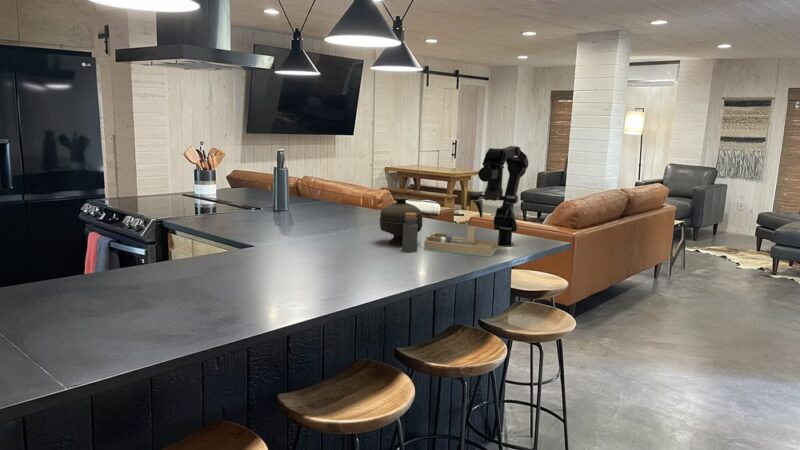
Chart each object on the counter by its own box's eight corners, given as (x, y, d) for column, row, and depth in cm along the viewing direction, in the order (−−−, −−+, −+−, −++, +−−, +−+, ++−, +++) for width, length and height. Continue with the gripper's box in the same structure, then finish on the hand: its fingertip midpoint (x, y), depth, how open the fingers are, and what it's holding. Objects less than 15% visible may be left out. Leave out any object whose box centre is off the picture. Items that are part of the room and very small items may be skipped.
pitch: (434, 243, 246) (434, 235, 246) (497, 250, 237) (498, 241, 237) (424, 249, 233) (424, 241, 233) (490, 256, 224) (491, 248, 224)
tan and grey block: (448, 244, 240) (449, 224, 238) (476, 247, 236) (477, 226, 234) (445, 246, 235) (446, 225, 233) (473, 249, 231) (474, 228, 230)
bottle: (415, 252, 227) (417, 215, 224) (400, 251, 228) (402, 214, 225) (418, 249, 233) (419, 212, 230) (403, 248, 234) (405, 211, 231)
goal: (433, 241, 244) (433, 232, 244) (446, 243, 242) (447, 233, 242) (425, 246, 235) (426, 236, 234) (440, 247, 233) (440, 238, 232)
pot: (370, 243, 237) (374, 195, 235) (387, 240, 254) (391, 194, 252) (411, 249, 231) (415, 199, 229) (426, 245, 248) (430, 199, 246)
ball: (448, 236, 238) (448, 244, 239) (439, 236, 240) (440, 244, 240) (445, 237, 235) (446, 246, 236) (437, 237, 236) (437, 246, 237)
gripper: (467, 180, 227) (465, 219, 230) (515, 183, 221) (512, 223, 224) (473, 178, 237) (471, 215, 240) (519, 181, 231) (516, 219, 234)
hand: (492, 218), depth 234 cm, fingers open, 9 cm apart
